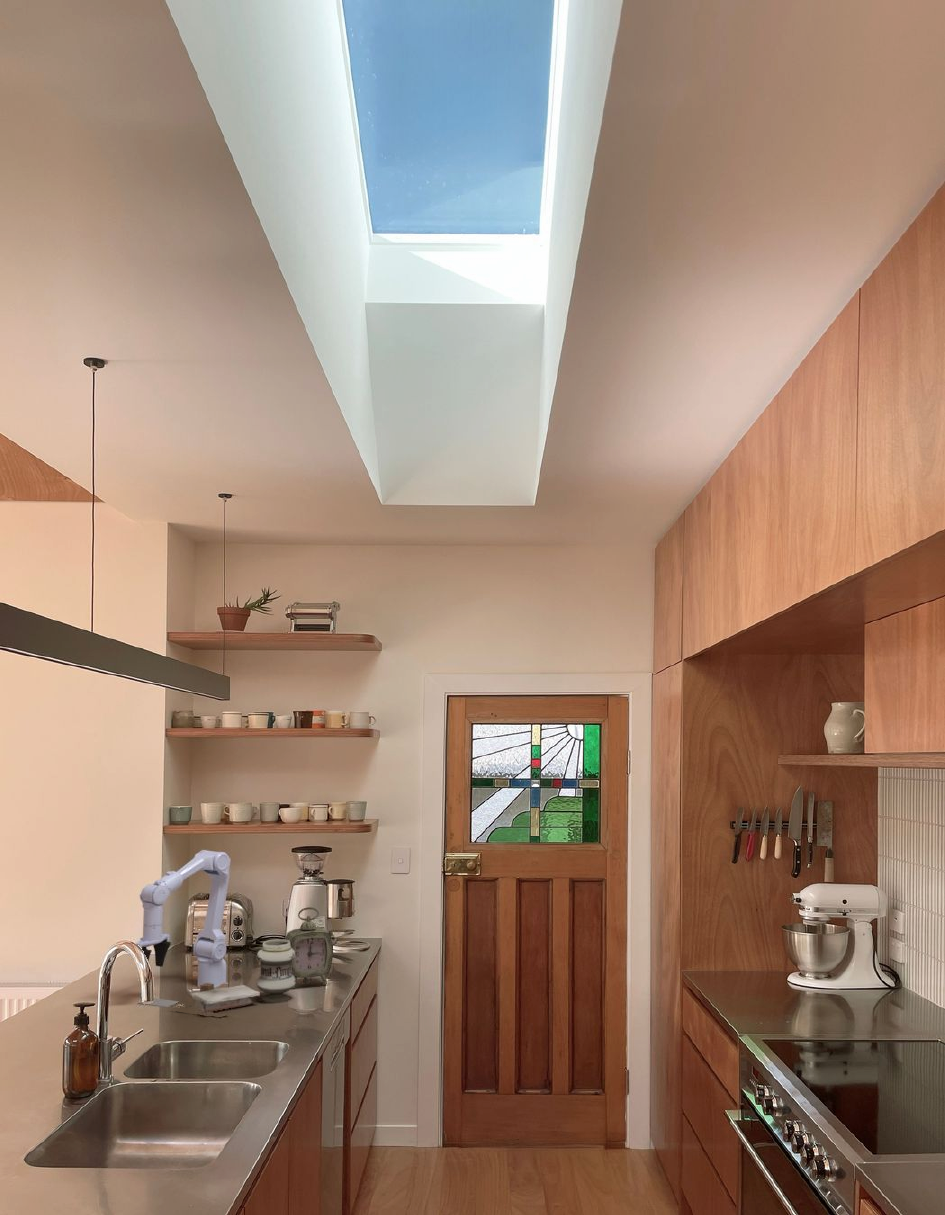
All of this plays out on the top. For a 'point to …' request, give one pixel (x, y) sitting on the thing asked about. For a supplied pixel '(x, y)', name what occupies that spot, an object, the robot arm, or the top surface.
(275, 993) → the apothecary jar
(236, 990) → the packaged product
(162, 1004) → the slate pad
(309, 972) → the tabletop clock
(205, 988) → the brown and white block
